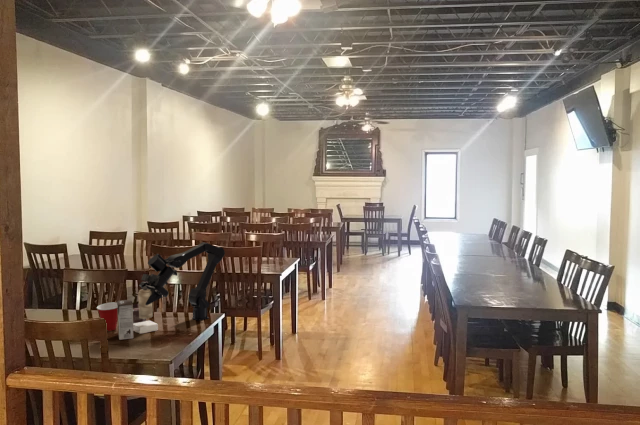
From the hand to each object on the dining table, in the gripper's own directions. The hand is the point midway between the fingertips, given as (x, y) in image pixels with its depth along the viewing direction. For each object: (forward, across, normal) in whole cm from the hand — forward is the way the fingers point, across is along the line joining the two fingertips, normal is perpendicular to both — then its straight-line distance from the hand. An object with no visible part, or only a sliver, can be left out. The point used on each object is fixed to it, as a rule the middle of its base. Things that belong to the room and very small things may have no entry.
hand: (142, 303), depth 251 cm
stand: (+8, -2, +11) cm, 14 cm away
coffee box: (+16, +1, +3) cm, 17 cm away
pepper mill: (+4, 0, +6) cm, 7 cm away
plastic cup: (+16, -16, +3) cm, 23 cm away
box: (+6, -16, +14) cm, 22 cm away
